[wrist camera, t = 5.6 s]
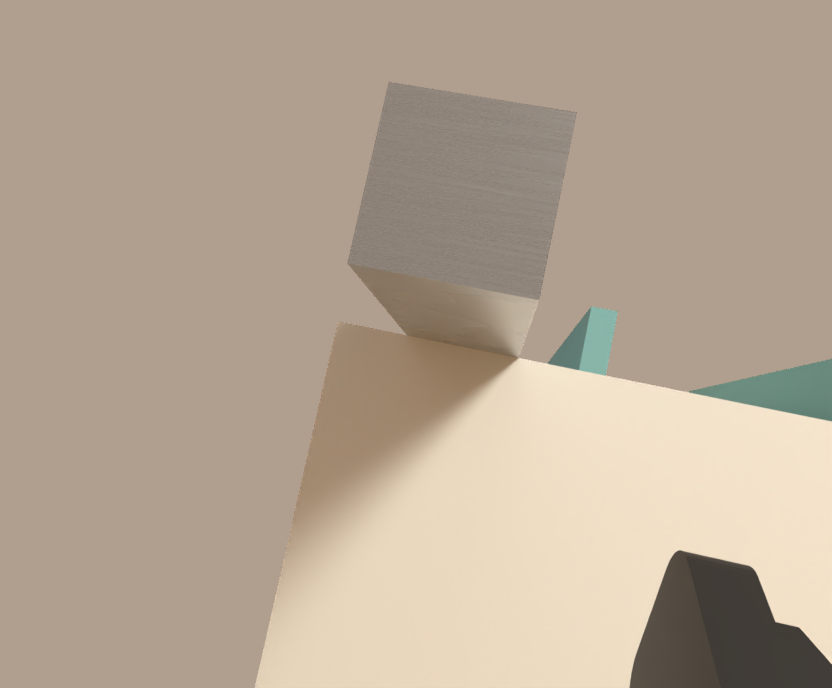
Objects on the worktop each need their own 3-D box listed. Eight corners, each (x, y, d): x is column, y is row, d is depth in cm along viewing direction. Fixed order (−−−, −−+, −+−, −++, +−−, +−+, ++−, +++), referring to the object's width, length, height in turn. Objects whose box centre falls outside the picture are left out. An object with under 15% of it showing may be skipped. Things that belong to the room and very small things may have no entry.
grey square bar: (538, 300, 13) (576, 112, 14) (347, 263, 14) (388, 82, 14) (506, 392, 41) (519, 329, 41) (443, 378, 41) (456, 316, 42)
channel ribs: (865, 428, 22) (875, 360, 22) (578, 370, 23) (591, 306, 23) (698, 431, 40) (704, 394, 40) (540, 399, 41) (548, 362, 41)
